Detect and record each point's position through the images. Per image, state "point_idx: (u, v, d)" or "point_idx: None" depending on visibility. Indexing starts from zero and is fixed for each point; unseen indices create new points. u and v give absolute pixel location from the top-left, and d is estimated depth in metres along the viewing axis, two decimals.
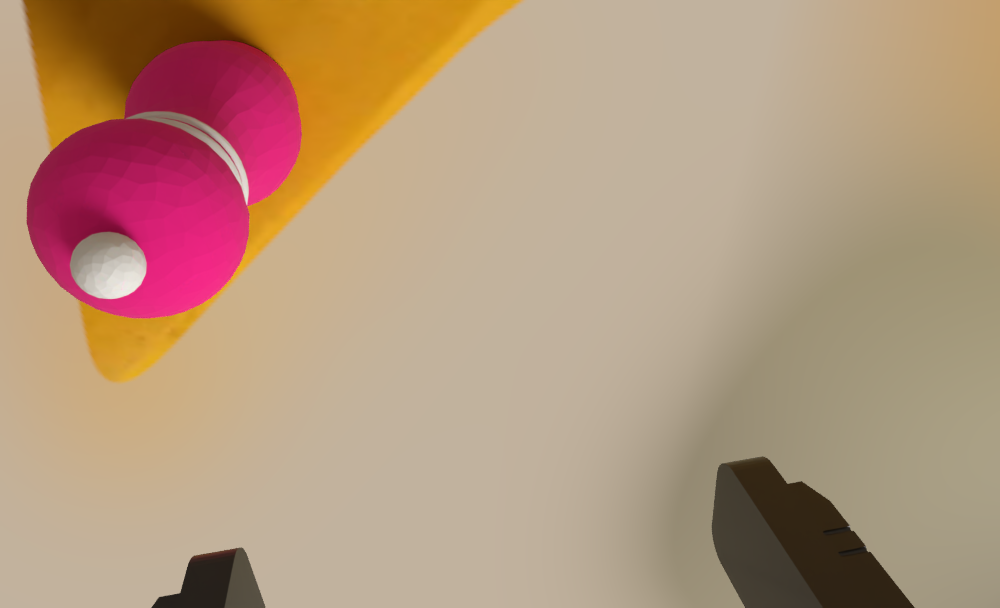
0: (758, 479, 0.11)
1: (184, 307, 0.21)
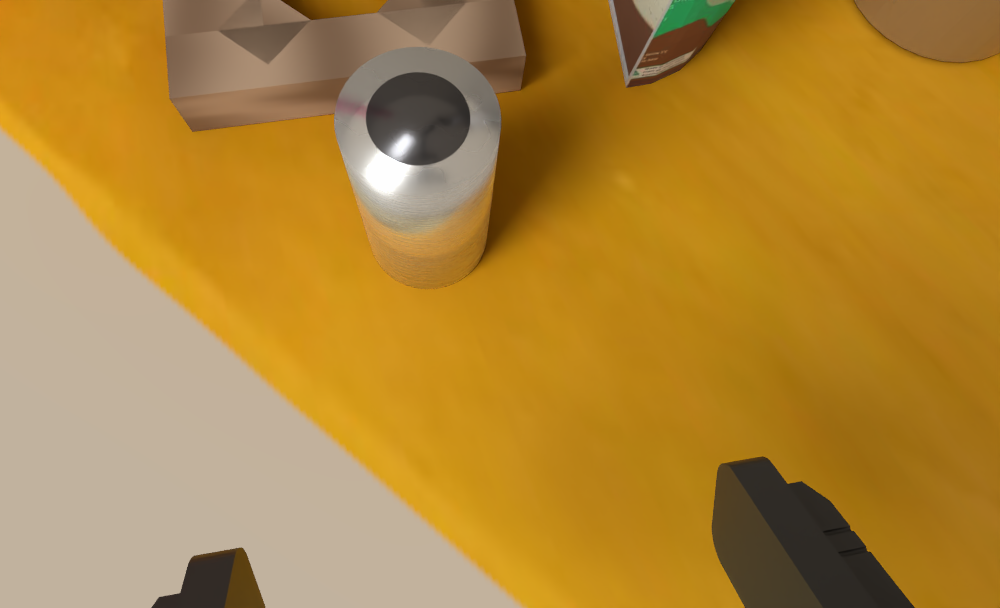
0: (758, 479, 0.11)
1: None
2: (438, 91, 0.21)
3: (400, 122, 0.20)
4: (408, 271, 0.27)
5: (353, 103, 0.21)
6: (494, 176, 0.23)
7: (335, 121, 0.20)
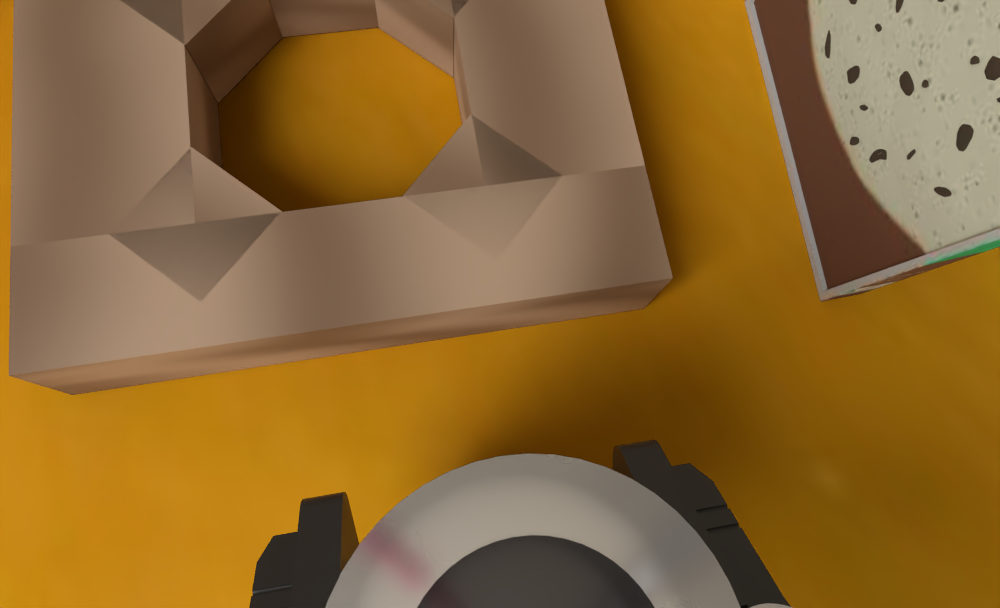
0: (644, 460, 0.12)
1: None
2: (588, 595, 0.08)
3: None
4: None
5: None
6: None
7: None
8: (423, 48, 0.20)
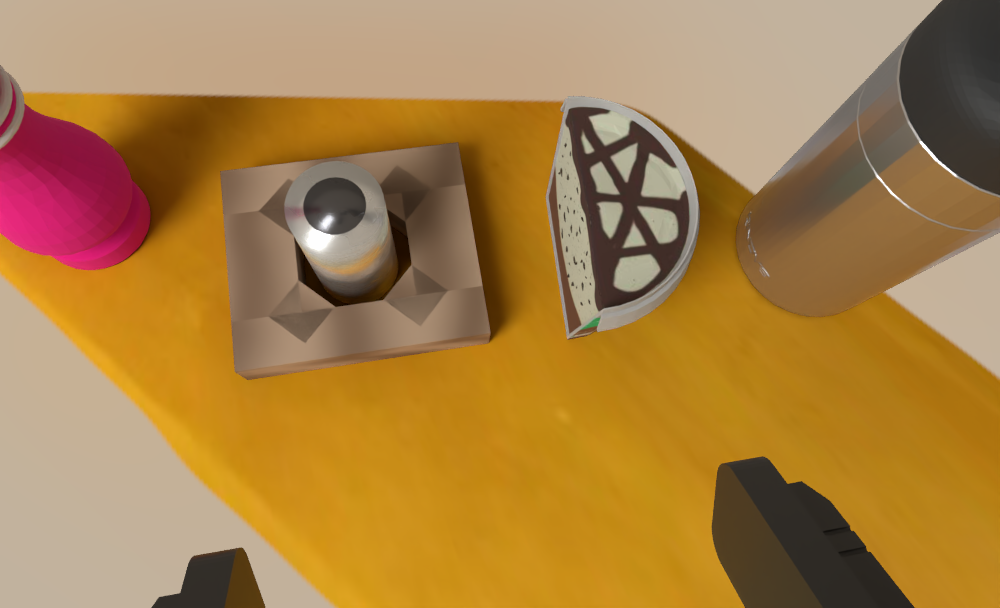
0: (758, 479, 0.11)
1: None
2: (347, 189, 0.35)
3: (323, 208, 0.34)
4: (340, 293, 0.41)
5: (296, 196, 0.35)
6: (388, 236, 0.37)
7: (285, 207, 0.34)
8: (394, 225, 0.44)
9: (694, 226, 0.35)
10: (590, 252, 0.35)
